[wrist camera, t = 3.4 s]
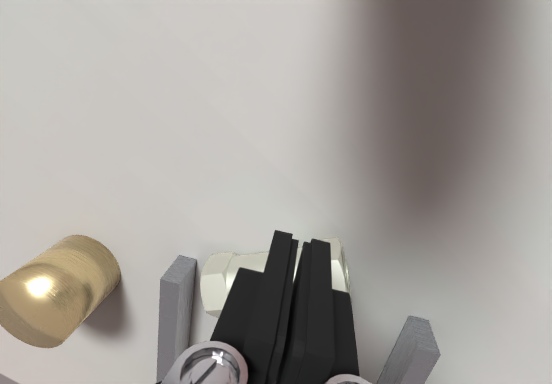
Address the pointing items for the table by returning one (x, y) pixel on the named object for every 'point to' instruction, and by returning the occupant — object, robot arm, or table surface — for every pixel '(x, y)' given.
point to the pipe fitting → (225, 267)
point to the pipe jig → (177, 316)
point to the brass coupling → (57, 291)
